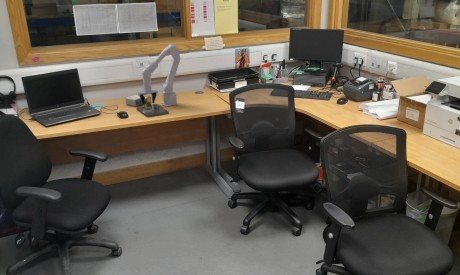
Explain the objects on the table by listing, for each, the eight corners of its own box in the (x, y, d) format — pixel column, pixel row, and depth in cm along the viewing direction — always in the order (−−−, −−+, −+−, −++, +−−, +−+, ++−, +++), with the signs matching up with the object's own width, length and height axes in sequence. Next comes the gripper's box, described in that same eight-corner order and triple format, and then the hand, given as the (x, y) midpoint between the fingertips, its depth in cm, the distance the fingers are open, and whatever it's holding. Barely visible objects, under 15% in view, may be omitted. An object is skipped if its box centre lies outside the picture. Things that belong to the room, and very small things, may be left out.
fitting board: (157, 106, 292) (156, 101, 291) (168, 113, 277) (168, 108, 276) (136, 109, 284) (136, 105, 283) (147, 117, 269) (146, 112, 267)
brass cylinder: (150, 105, 296) (149, 95, 293) (152, 106, 293) (151, 97, 290) (145, 105, 294) (144, 96, 291) (147, 107, 290) (146, 97, 288)
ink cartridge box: (136, 107, 291) (148, 101, 303) (135, 99, 289) (148, 94, 301) (125, 105, 295) (138, 99, 307) (125, 98, 293) (137, 92, 305)
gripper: (154, 83, 294) (155, 101, 299) (135, 85, 287) (137, 103, 292) (158, 85, 289) (159, 103, 294) (139, 87, 281) (140, 106, 286)
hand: (148, 103), depth 292 cm, fingers open, 7 cm apart
